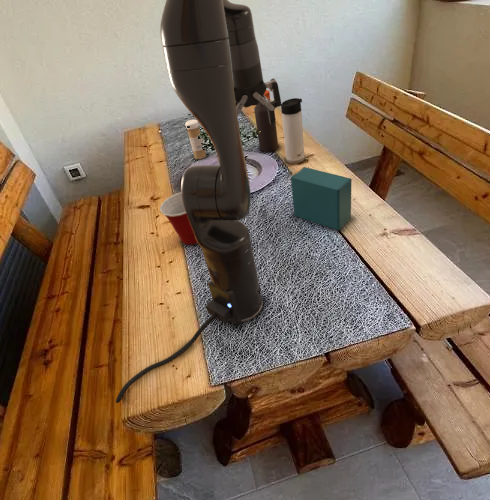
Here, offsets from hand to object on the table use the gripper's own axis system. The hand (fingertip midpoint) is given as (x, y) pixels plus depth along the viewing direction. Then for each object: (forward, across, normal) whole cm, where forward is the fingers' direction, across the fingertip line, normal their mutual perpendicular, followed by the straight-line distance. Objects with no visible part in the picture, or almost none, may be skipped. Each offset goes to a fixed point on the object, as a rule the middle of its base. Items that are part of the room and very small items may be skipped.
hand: (255, 127), depth 97 cm
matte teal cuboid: (+23, +12, -13) cm, 29 cm away
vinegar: (+28, +7, +34) cm, 44 cm away
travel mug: (+27, +14, +21) cm, 37 cm away
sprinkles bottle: (+27, -18, +39) cm, 51 cm away
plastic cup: (+22, -24, -10) cm, 34 cm away
